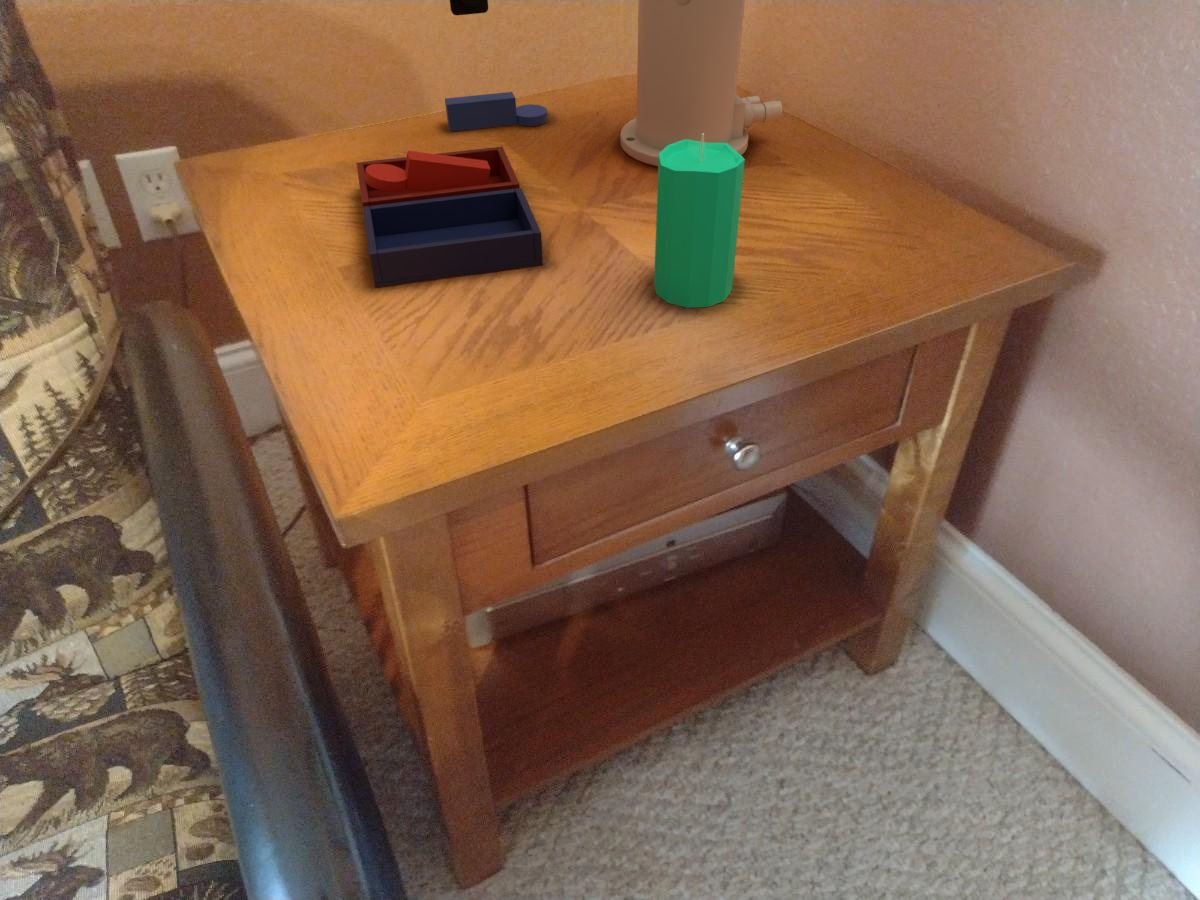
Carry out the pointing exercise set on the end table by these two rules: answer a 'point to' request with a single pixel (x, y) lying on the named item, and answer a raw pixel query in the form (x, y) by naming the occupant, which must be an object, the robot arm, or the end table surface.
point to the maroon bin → (498, 180)
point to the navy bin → (451, 237)
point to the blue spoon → (491, 112)
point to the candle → (697, 222)
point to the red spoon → (428, 173)
